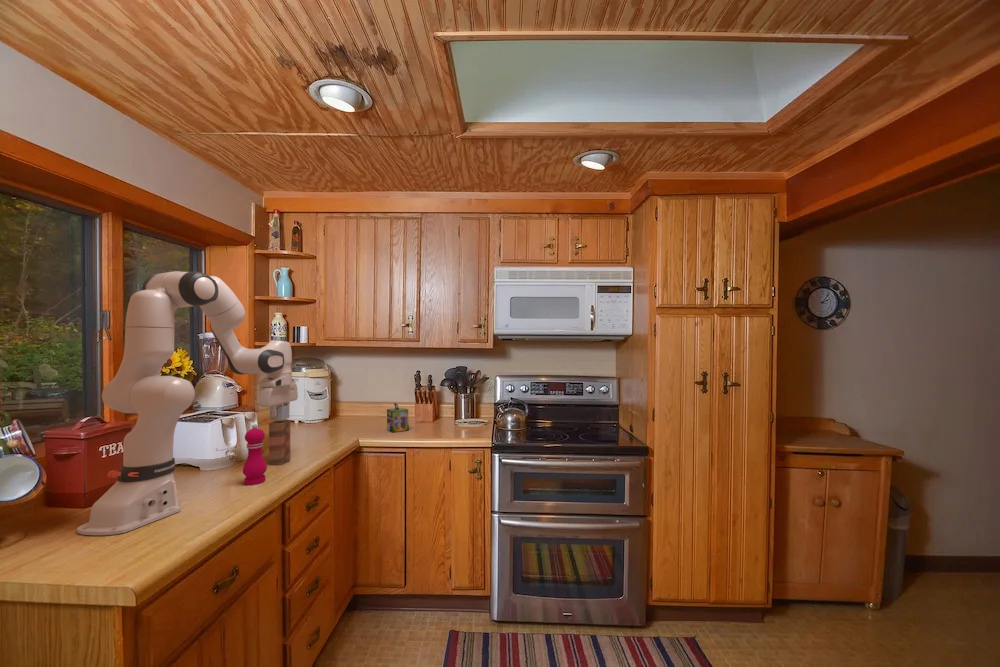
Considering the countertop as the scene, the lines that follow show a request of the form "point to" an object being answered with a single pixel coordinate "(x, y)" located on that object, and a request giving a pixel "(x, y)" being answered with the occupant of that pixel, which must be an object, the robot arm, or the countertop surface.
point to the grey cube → (281, 413)
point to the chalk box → (397, 419)
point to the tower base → (279, 457)
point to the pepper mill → (254, 457)
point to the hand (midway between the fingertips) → (279, 415)
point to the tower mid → (279, 443)
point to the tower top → (279, 429)
